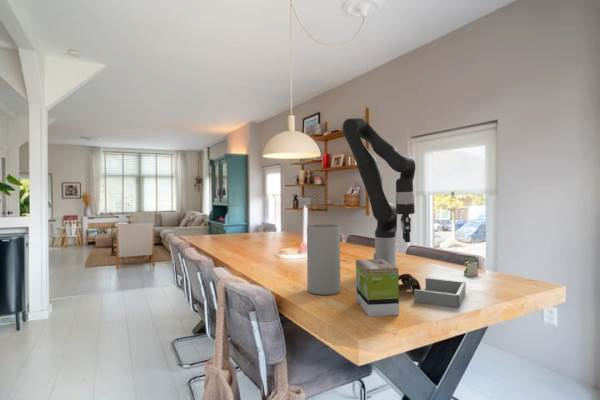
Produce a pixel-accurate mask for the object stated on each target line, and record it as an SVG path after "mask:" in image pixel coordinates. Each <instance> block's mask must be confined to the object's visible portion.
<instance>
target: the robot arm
mask: <svg viewBox="0 0 600 400" xmlns="http://www.w3.org/2000/svg"><path fill="white" fill-rule="evenodd" d="M342 132H343V135H344V138H345V140H346V142H347V143H348V146H349V149H350V150H351V153H352V155H353V158H354V160H355V163H356V166H357V169H358V173H359V176H360V178H361V180H362V183H363V186H364V189H365V190H366V191H365V192H367V195H368V199H369V204H370V208H371V212H372V215H373V218H374V219H375V220H376V224H377V225H376V228H375V231H374V246H375V247H374V250H375V251H374V253H373V259H384V260H385V261H387V262H389V263H390V264H392V265H394V266H395V267H397V266H396V265H397V260H396V259H397V258H396V257H397V256H396V255H397V253H396V252H397V248H396V247H397V246H396V245H397V243H396V238H397V236H396V234H397V229H398V215H400V217H401V218H400V227H401V231H402V239H403V240H404V242H405V243H411V231H412V225H411V224H412V223H411V222H412V218H411V217H410V215H413V214H415V212H416V211H415V195H414V179H415V173H416V162H415V159H414V158H413V157H411V156H410V155H409V156H408V155H402V154H400V153H399V150H398V149H397V148H396V147H395V146H394V145H392V144H391V143H390V142H389V141H387V140H386V139H384V138H383V137H382V136H381V135H380V134H379V133H378V132H377V131H375V129H373V127H372V126H371V124H369V123H368V122H367V121H366V120H365V119H363V118H359V117H358V118H357V117H356V118H355V117H354V118H348V119H345V120H344V121H343V124H342ZM362 139H363V140H365V141H366V142H368V143H369V145H371V148H372V151H374V153H375V154H376V155H377V156H379V157H380V158H381V159H383V160H384V161H385V162H386V164H387V165H388V166H389V167H390V168H391V169H392V170H393V171H395V172H396V173H400V175H399V178H397V179H396V181H395V204H393V203H392V202H390V201H388V199H387V197H386V194H385V192H384V186H383V179H382V178H383V177H382V172H381V169H380V166H379V164H378V161H377V159H376V157H375V156H374V154H372V152H370V150H368V148H367V146H365V144H364V143H363V141H362Z"/></svg>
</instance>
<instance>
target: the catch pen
mask: <svg viewBox="0 0 600 400" xmlns="http://www.w3.org/2000/svg"><path fill="white" fill-rule="evenodd" d="M425 289H426V290H424V289H423V290H422V289H421V290H417V289H415V290H414V291H413V297H414V298H413V301H414V302H415V303H421V304H428V305H436V306H442V307H451V308H457V309H459V308H460V307H461V305H462V302H463V299H464V298H465V295H466V281H460V280H450V279H440V278H431V277H425ZM433 290H435V291H433ZM440 291H441V292H440ZM448 292H451V293H448Z"/></svg>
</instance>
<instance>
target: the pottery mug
mask: <svg viewBox="0 0 600 400" xmlns="http://www.w3.org/2000/svg"><path fill="white" fill-rule="evenodd" d="M399 281H400V282H401V284H400V283H399V293H401V292H406V291H412V292H414V290H415V289H417V290H422V287H421V284H420V282H419V280H418V279H417V278H415V277H414V276H413V275H412V274H411V273H402V274H399Z"/></svg>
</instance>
